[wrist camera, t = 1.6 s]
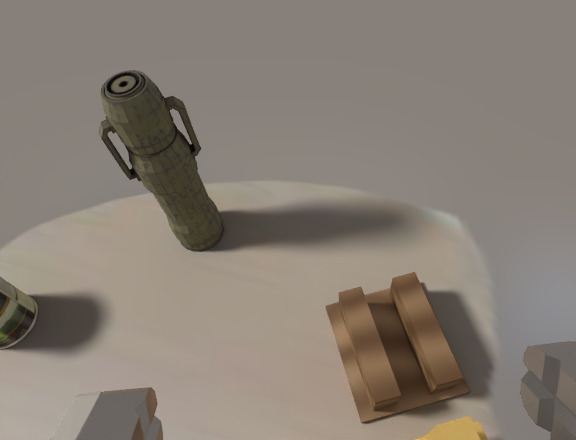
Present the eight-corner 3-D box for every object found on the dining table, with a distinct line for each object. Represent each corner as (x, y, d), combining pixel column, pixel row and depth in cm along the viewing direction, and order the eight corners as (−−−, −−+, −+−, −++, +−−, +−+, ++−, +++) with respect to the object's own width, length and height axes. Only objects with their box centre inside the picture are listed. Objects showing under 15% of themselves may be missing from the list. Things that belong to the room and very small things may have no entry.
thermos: (239, 232, 81) (180, 81, 52) (182, 264, 79) (87, 124, 50) (219, 201, 86) (154, 46, 57) (165, 230, 83) (69, 84, 54)
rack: (468, 392, 62) (481, 381, 56) (361, 423, 61) (363, 414, 55) (418, 282, 72) (424, 263, 66) (325, 307, 71) (324, 290, 65)
